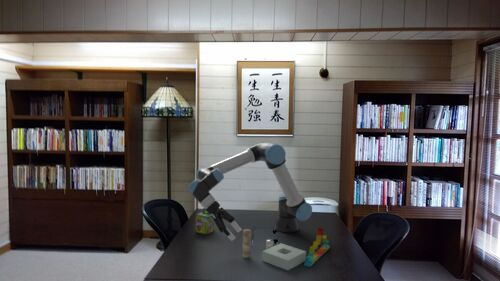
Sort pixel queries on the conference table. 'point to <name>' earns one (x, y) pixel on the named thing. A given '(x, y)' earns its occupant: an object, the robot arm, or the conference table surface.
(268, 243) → the short metal pin
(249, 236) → the tall beech pin
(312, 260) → the chart
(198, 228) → the chalk box
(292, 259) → the hole block
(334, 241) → the conference table surface
